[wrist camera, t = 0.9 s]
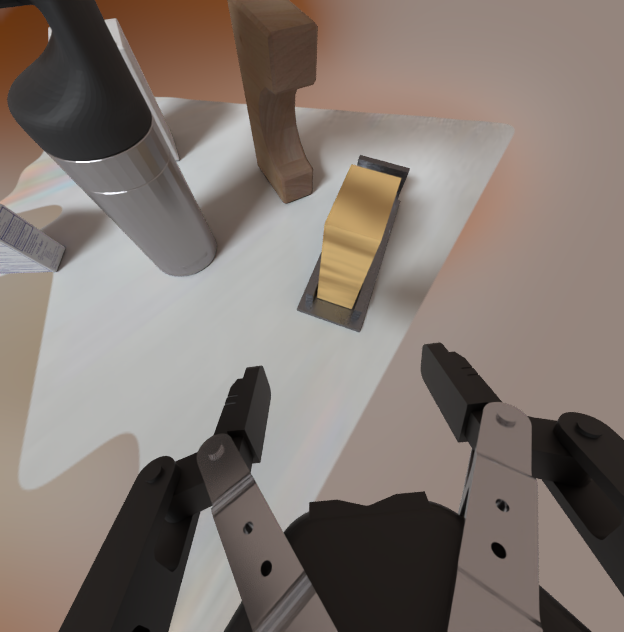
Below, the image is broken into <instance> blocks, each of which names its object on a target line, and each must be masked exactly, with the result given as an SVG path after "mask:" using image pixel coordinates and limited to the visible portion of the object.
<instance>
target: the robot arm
mask: <svg viewBox="0 0 624 632" xmlns="http://www.w3.org/2000/svg"><path fill="white" fill-rule="evenodd" d="M23 5H35V6H36V7H37V8H38V9H39V10H40V11H41V12H42V14H43V15H44V17H45V18H46V20H47V22H48V24H49V26H50V28H51V30H52V33H51V36H50V39H49V42H48V45H47V47H46V48H45V50H44V52H43V53H42V54H41V55H40V57H39V58H38V59H36V60H35V61H34V62H33V63H32V64H31V65H30V66H29V67H27V68H26V69H25V70H24V71H23V72H22V73H21V74H20V75H19V76H18V77H17V78H16V79H15V81H14V82H13V84H12V86H11V88H10V90H9V93H8V99H7V100H8V107H9V110H10V112H11V114H12V115H13V117H14V118H15V120H16V121H17V123H18V124H19V125H20V126H21V127H22V128H23V129H24V131H25V132H26V133H27V134H28V135H29V136H30V137H31V138H32V139H33V140H34V141H35V142H36V143H37V144H38V145H39V146H40V147H41V148H42V149H43V150H44V151H45V152H46V153H47V154H48V155H49V156H50V157H51V158H52V159H53V160H54V161H55V162H56V163H57V164H58V165H59V166H60V167H61V168H62V169H63V170H64V171H65V172H66V173H67V174H68V175H69V176H70V177H71V179H72V180H73V181H74V182H75V183H76V184H77V185H79V186H80V187H81V189H82V190H83V191H84V192H85V193H86V194H87V195H88V196H89V197H90V198H91V199H92V200H93V201H94V202H95V203H96V204H97V205H98V206H99V207H100V208H101V209H102V210H103V211H104V212H105V213H106V214H107V215H108V216H109V217H110V218H111V219H112V220H113V221H114V222H115V223H116V225H117V226H118V227H119V228H120V229H121V230H122V231H123V232H124V233H125V234H126V235H127V236H128V237H129V238H130V239H131V240H132V241H133V242H134V243H135V244H136V245H137V246H138V247H139V248H140V249H141V250H142V251H143V252H144V253H145V255H146V256H147V257H148V258H149V259H150V260H151V261H152V262H153V263H154V264H155V265H156V266H157V267H158V268H159V269H160V270H162V271H163V272H165V273H167V274H169V275H173V276H188V275H191V274H195V273H197V272H199V271H201V270H202V269H204V268H205V267H207V266H208V265H209V264H210V262H211V261H212V260H213V258H214V256H215V253H216V248H217V245H216V241H215V239H214V237H213V234H212V232H211V230H210V228H209V226H208V224H207V222H206V220H205V218H204V216H203V214H202V212H201V210H200V208H199V206H198V204H197V202H196V200H195V198H194V196H193V194H192V192H191V190H190V188H189V186H188V184H187V182H186V180H185V178H184V176H183V174H182V172H181V170H180V168H179V166H178V164H177V162H176V160H175V158H174V156H173V154H172V152H171V150H170V148H169V146H168V145H167V143H166V141H165V139H164V137H163V135H162V133H161V131H160V129H159V127H158V125H157V123H156V121H155V119H154V117H153V115H152V113H151V111H150V109H149V107H148V105H147V103H146V101H145V99H144V97H143V95H142V93H141V92H140V90H139V88H138V86H137V84H136V82H135V80H134V78H133V76H132V74H131V72H130V70H129V68H128V66H127V64H126V62H125V60H124V59H123V57H122V55H121V53H120V51H119V49H118V47H117V45H116V43H115V41H114V39H113V37H112V35H111V33H110V31H109V29H108V27H107V25H106V23H105V21H104V19H103V17H102V14H101V13H100V10H99V8H98V6H97V4H96V2H95V0H0V8H6V7H15V6H23ZM421 374H422V378H423V380H424V382H425V384H426V386H427V387H428V389H429V391H430V393H431V395H432V396H433V398H434V400H435V402H436V404H437V405H438V407H439V409H440V411H441V413H442V414H443V416H444V418H445V420H446V422H447V423H448V425H449V427H450V429H451V431H452V432H453V434H454V436H455V438H456V439H457V441H458V442H469V444H470V446H471V447H472V450H471V454H470V459H469V464H468V469H467V474H466V479H465V485H464V490H463V494H462V499H461V503H460V507H459V511H458V514H457V513H456V512H454V511H452V510H451V509H449V508H447V507H445V506H442V505H440V504H437V503H434V502H431V501H428V499H427V496H426V494H425V492H414V493H403V494H395V495H393V496H391V497H388V498H386V499H384V500H381V501H379V502H376V503H374V504H372V505H369V506H364V505H360V504H354V503H350V502H345V501H340V500H329V501H319V502H309V512H307V513H305V514H303V515H302V516H300V517H298V518H297V519H296V520H295V521H294V522H292V523H291V524H290V526H289V527H288V528H287V529H286V530H285V531H284V533H283V531H282V529H281V527H280V526H279V524H278V522H277V520H276V518H275V516H274V515H273V513H272V511H271V509H270V507H269V505H268V504H267V502H266V500H265V498H264V496H263V495H262V493H261V491H260V489H259V487H258V485H257V484H256V482H255V480H254V478H253V476H252V475H251V468H252V463H260V462H261V456H262V450H263V443H264V437H265V431H266V425H267V419H268V412H269V406H270V400H271V390H270V386H269V383H268V380H267V377H266V374H265V371H264V368H263V366H255V367H248V368H246V370H245V374H244V377H243V378H242V379H237V380H236V382H235V383H234V384H233V385H232V386H231V388H230V391H229V394H228V398H227V399H226V402H225V406H224V408H223V411H222V413H221V416H220V419H219V422H218V425H217V427H216V430H215V433H214V435H213V436H212V437H210V438H209V439H207V440H206V441H205V442H204V443H203V444H202V446H201V447H200V449H199V451H198V452H197V453H195V454H192V455H190V456H188V457H185V458H183V459H180V460H178V461H176V462H175V461H174V460H173V458H171V457H169V456H162V457H159V458H157V459H155V460H153V461H151V462H150V463H149V464H148V465H146V466H145V467H144V468H143V469H142V471H141V472H140V473H139V475H138V476H137V478H136V480H135V482H134V484H133V486H132V488H131V490H130V492H129V494H128V496H127V498H126V500H125V502H124V504H123V506H122V508H121V510H120V512H119V514H118V516H117V518H116V520H115V521H114V524H113V525H112V527H111V529H110V531H109V533H108V535H107V537H106V539H105V541H104V543H103V545H102V547H101V549H100V551H99V553H98V555H97V557H96V559H95V561H94V563H93V565H92V567H91V569H90V571H89V573H88V575H87V577H86V579H85V581H84V582H83V584H82V586H81V588H80V590H79V592H78V594H77V596H76V598H75V600H74V602H73V604H72V606H71V608H70V610H69V612H68V614H67V616H66V618H65V620H64V622H63V624H62V626H61V628H60V630H59V632H168V631H169V627H170V623H171V620H172V616H173V612H174V609H175V605H176V601H177V597H178V594H179V590H180V586H181V582H182V579H183V575H184V571H185V567H186V564H187V560H188V556H189V552H190V549H191V545H192V541H193V538H194V534H195V530H196V526H197V523H198V519H199V515H200V511H202V510H204V509H206V508H208V507H211V506H213V507H212V508H211V511H212V515H213V518H214V521H215V524H216V527H217V530H218V533H219V536H220V538H221V541H222V544H223V547H224V550H225V553H226V556H227V559H228V561H229V564H230V567H231V570H232V573H233V576H234V579H235V582H236V584H237V587H238V590H239V593H240V596H241V599H242V602H241V604H240V605H239V607H238V609H237V610H236V612H235V614H234V615H233V617H232V619H231V620H230V622H229V624H228V625H227V627H226V629H225V630H224V632H591V631H590V630H589V629H588V628H587V627H586V626H585V625H583V624H582V623H581V622H580V621H579V620H578V619H577V618H576V617H575V616H574V615H572V614H571V613H570V612H569V611H568V610H567V609H566V608H564V607H563V606H562V605H561V604H560V603H559V602H558V601H557V600H556V599H554V598H553V597H552V596H551V595H550V594H549V593H548V592H547V591H545V590H544V589H543V588H542V587H541V586H540V585H539V557H538V556H539V553H538V485H537V480H536V478H538V479H542V481H543V482H544V484H545V485H546V486H547V488H548V489H549V491H550V492H551V494H552V495H553V496H554V498H555V499H556V501H557V502H558V504H559V505H560V506H561V508H562V509H563V511H564V512H565V514H566V515H567V516H568V518H569V519H570V521H571V522H572V523H573V525H574V526H575V528H576V529H577V531H578V532H579V534H580V535H581V536H582V538H583V539H584V541H585V542H586V543H587V545H588V546H589V548H590V549H591V551H592V552H593V554H594V555H595V556H596V558H597V559H598V561H599V562H600V564H601V565H602V566H603V568H604V569H605V571H606V572H607V574H608V575H609V576H610V578H611V579H612V580H613V582H614V583H615V585H616V586H617V588H618V589H619V591H620V592H621V593H622V595H623V596H624V440H623V439H622V438H621V437H620V436H619V435H618V434H617V433H616V432H614V431H613V430H612V429H611V428H610V427H609V426H607V425H606V424H604V423H603V422H601V421H599V420H597V419H596V418H593V417H591V416H588V415H585V414H581V413H576V412H568V413H564V414H562V415H561V416H560V417H559V419H558V421H554V420H547V419H541V418H533V417H529V416H526V414H524V413H523V412H522V411H521V410H519V409H518V408H516V407H514V406H512V405H509V404H506V403H503V402H502V401H501V400H500V399H499V398H498V397H497V395H496V394H495V393H494V392H493V391H492V389H491V388H490V387H489V386H488V385H487V384H486V383H485V381H484V380H483V379H482V378H481V377H480V375H478V373H477V372H476V371H475V369H474V368H472V366H471V365H470V364H469V363H468V361H467V360H466V359H465V358H464V357H462V356H461V355H459V354H457V353H456V352H448V350H447V349H446V348H445V347H444V345H443V344H442V343H432V344H425V345H423V349H422V360H421Z"/></svg>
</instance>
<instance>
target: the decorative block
mask: <svg viewBox="0 0 624 632" xmlns="http://www.w3.org/2000/svg"><path fill="white" fill-rule="evenodd" d="M228 6H229V11H230V16H231V22H232V27H233V33H234V38H235V44H236V49H237V54H238V60H239V65H240V71H241V76H242V81H243V87H244V91H245V98H246V102H247V108H248V114H249V119H250V125H251V130H252V136H253V141H254V146H255V152H256V157H257V163H258V166H259V167H260V169H261V170H262V172H263V173H264V175H265V176H266V178H267V179H268V181H269V182H270V184H271V185H272V186H273V188H274V189H275V191H276V192H277V194H278V195H279V197H280V198H281V199H282V201H283V202H284V203H289V202H291V201H294V200H296V199H299V198H301V197H304V196H307V195H309V194H311V193H312V180H313V168H312V167H311V165H310V163H309V162H308V160H307V158H306V156H305V153H304V150H303V148H302V145H301V142H300V138H299V134H298V130H297V126H296V117H295V94H296V91H297V89H299V88H303V87H306V86H310V85H313V84H314V82H315V80H316V61H317V60H316V59H317V31H318V27H317V25H316V24H315V22H314V21H313V20H311V19H310V18H309V17H308V16H307V15H306V14H304V13H303V12H302V11H301V10H300V9H298V8H297V7H296V6H295V5H294V4H293V3H291V2H290V1H289V0H228Z"/></svg>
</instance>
